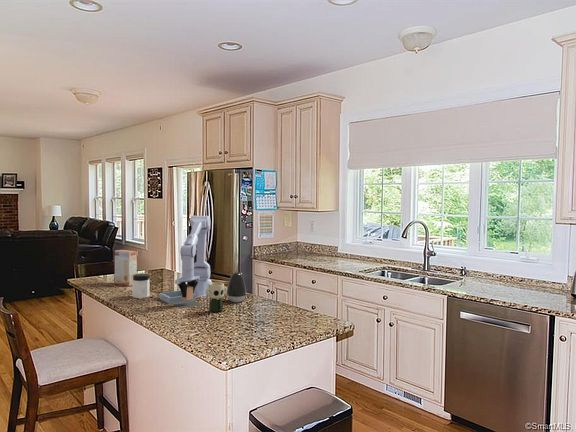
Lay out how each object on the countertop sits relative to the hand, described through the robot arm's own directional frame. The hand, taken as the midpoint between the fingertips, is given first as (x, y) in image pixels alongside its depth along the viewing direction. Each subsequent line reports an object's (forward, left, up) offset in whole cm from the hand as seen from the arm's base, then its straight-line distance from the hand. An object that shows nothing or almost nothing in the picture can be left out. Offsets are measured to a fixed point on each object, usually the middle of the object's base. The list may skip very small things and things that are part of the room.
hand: (187, 296), depth 213 cm
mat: (0, 0, -5) cm, 5 cm away
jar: (+13, -31, -5) cm, 34 cm away
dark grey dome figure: (-25, +5, -5) cm, 26 cm away
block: (0, 0, -1) cm, 1 cm away
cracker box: (+10, -69, -5) cm, 70 cm away
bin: (0, -13, -5) cm, 14 cm away
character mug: (-7, +17, -5) cm, 19 cm away
